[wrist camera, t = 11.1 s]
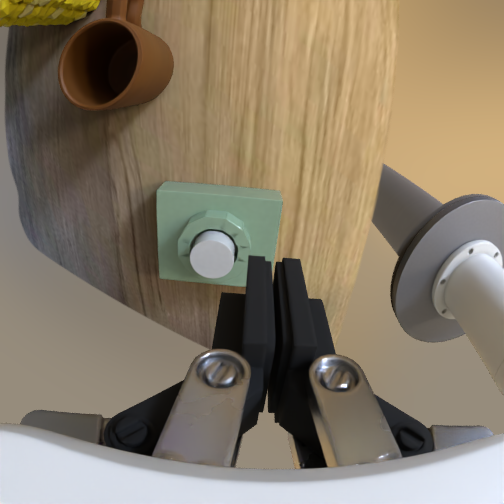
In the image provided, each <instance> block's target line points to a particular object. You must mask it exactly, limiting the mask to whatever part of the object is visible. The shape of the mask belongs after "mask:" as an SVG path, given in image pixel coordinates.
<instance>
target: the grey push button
mask: <svg viewBox="0 0 504 504" xmlns="http://www.w3.org/2000/svg"><path fill="white" fill-rule="evenodd" d="M234 256H235V246H234V243H233V241H232V240H231V238H230V237H229V236H227V235H226V234H224V233H222V232H220V231H213V230H212V231H206V232H204V233H202V234H200V235H199V236H198V237H197V238H196V240H195V242H194V245H193V247H192V250H191V253H190V263H191V265H192V267H193V269H194V270H195V271H196V272H197V273H198V274H200V275H201V276H203V277H206V278H212V279H215V278H220V277H223V276H225V275H226V274H228V273H229V272H230V271H231V269H232V267H233V264H234Z"/></svg>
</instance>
